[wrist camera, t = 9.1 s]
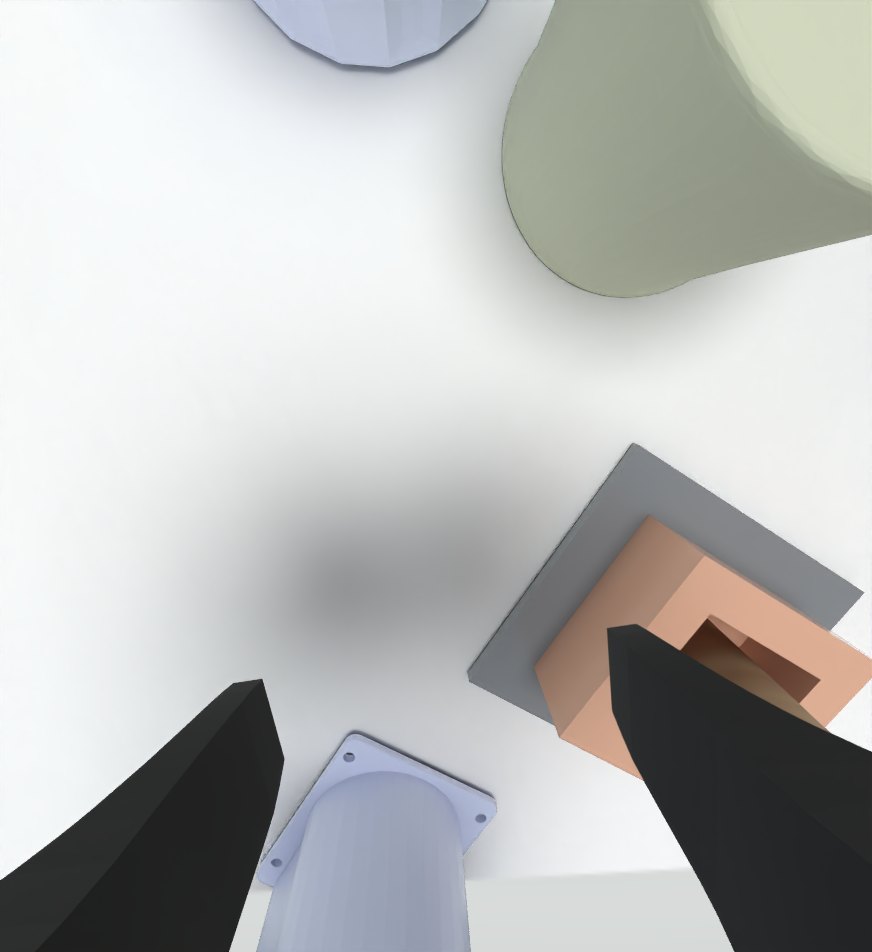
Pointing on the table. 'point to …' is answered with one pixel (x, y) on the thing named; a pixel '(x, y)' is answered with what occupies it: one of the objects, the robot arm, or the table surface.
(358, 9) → the soap bottle
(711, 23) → the can
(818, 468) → the table surface
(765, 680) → the walnut peg
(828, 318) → the table surface
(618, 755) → the terracotta holder
